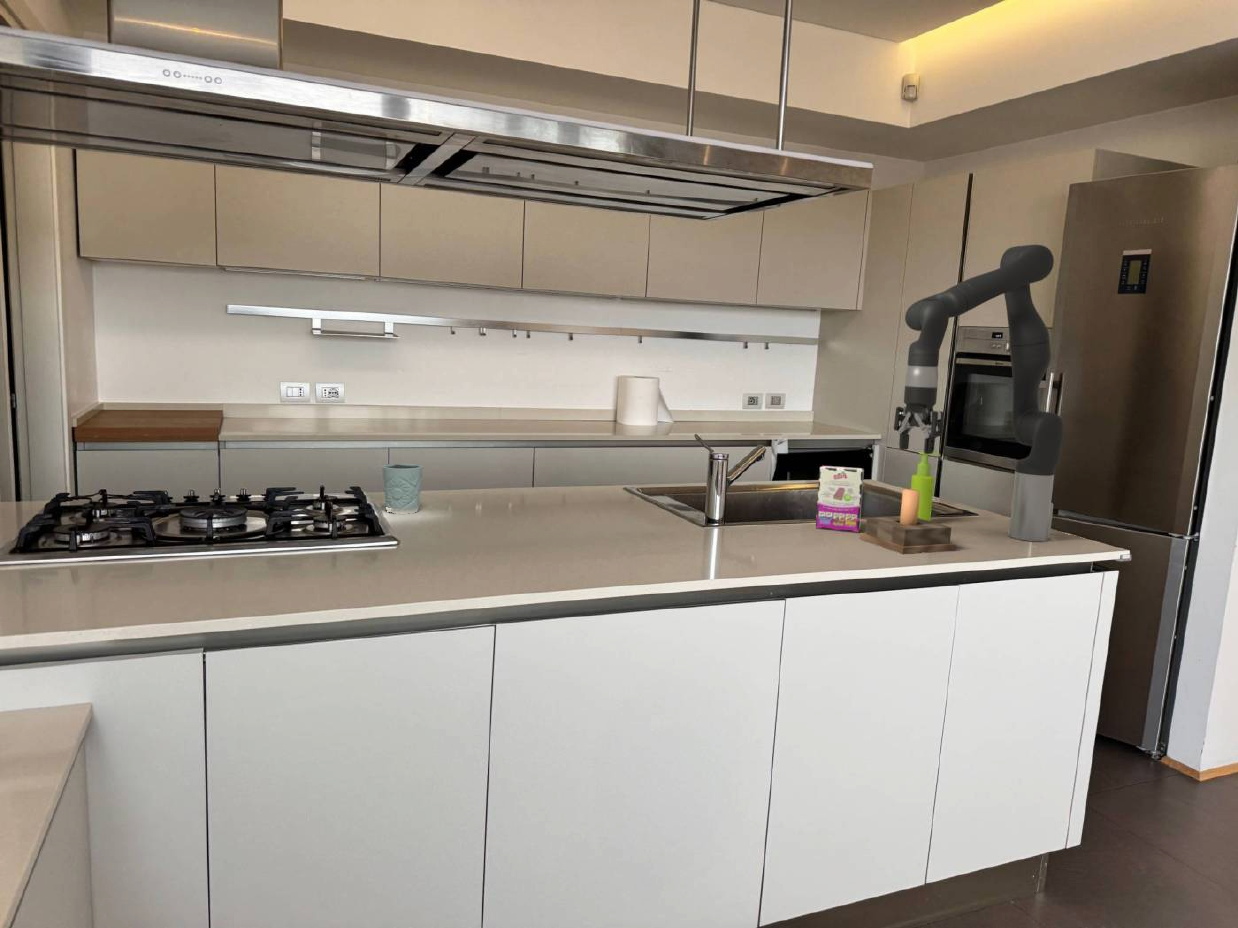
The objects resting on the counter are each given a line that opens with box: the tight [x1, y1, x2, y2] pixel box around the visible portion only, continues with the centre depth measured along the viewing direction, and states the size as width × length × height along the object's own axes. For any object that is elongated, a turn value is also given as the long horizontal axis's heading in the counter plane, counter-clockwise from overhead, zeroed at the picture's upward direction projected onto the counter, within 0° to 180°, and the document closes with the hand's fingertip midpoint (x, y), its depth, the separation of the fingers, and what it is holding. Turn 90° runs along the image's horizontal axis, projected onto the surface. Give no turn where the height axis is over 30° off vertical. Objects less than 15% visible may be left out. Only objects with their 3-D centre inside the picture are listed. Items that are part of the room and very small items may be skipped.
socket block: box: [859, 515, 957, 555], centre depth 217 cm, size 16×16×6 cm
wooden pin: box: [900, 488, 920, 525], centre depth 216 cm, size 4×4×12 cm
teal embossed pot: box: [382, 463, 423, 510], centre depth 230 cm, size 10×10×12 cm
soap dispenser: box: [910, 451, 941, 521], centre depth 244 cm, size 6×7×20 cm
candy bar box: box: [815, 465, 865, 533], centre depth 231 cm, size 11×5×16 cm, turn 71°
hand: (915, 451), depth 216 cm, fingers open, 8 cm apart
